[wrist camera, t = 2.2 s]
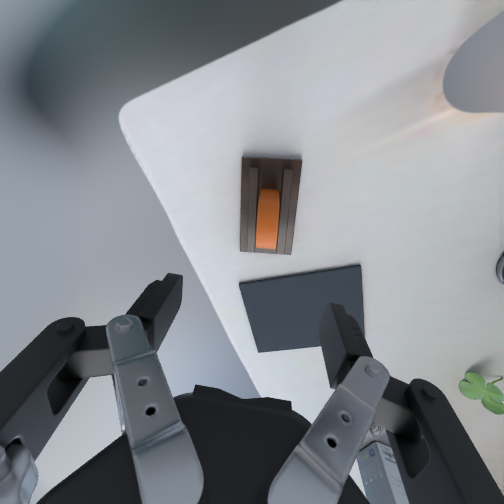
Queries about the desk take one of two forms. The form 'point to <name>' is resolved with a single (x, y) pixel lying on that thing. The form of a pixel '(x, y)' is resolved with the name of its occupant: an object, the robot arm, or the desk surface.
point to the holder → (252, 181)
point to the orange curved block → (267, 219)
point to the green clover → (483, 392)
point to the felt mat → (299, 306)
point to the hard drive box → (381, 475)
